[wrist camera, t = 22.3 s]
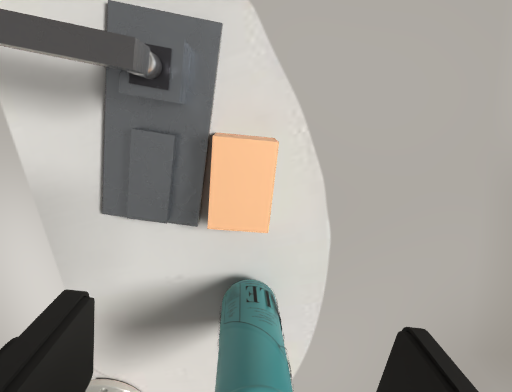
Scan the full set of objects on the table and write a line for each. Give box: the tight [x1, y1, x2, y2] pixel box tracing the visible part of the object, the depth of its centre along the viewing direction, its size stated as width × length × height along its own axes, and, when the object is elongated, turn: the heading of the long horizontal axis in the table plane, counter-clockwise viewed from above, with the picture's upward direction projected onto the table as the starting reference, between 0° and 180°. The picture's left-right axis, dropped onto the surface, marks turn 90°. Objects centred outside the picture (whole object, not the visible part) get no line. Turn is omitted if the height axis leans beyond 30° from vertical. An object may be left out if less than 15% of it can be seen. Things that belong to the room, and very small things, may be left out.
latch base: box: [102, 0, 223, 227], centre depth 27 cm, size 20×10×4 cm, turn 170°
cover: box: [208, 133, 279, 233], centre depth 30 cm, size 9×6×4 cm, turn 174°
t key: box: [0, 9, 162, 79], centre depth 20 cm, size 11×2×6 cm, turn 79°
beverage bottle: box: [215, 280, 293, 392], centre depth 26 cm, size 6×7×20 cm
